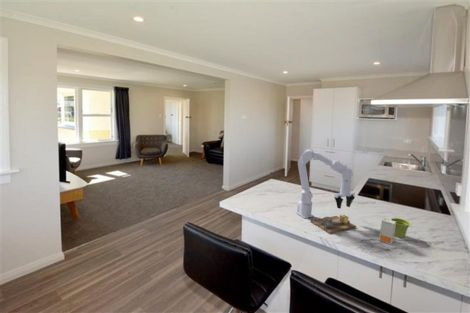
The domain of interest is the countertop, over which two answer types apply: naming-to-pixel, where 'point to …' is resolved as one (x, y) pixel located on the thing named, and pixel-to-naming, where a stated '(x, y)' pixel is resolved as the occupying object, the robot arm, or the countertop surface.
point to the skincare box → (387, 231)
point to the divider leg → (344, 219)
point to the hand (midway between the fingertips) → (343, 207)
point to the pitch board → (333, 229)
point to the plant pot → (400, 227)
